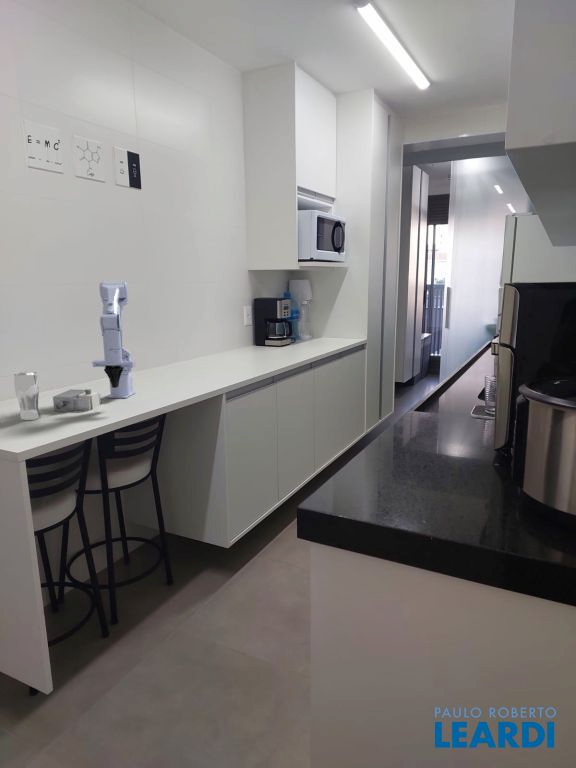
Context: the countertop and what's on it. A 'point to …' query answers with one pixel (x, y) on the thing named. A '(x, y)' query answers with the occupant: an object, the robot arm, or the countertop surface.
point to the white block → (91, 397)
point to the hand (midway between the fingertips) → (115, 387)
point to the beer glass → (27, 395)
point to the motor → (71, 401)
